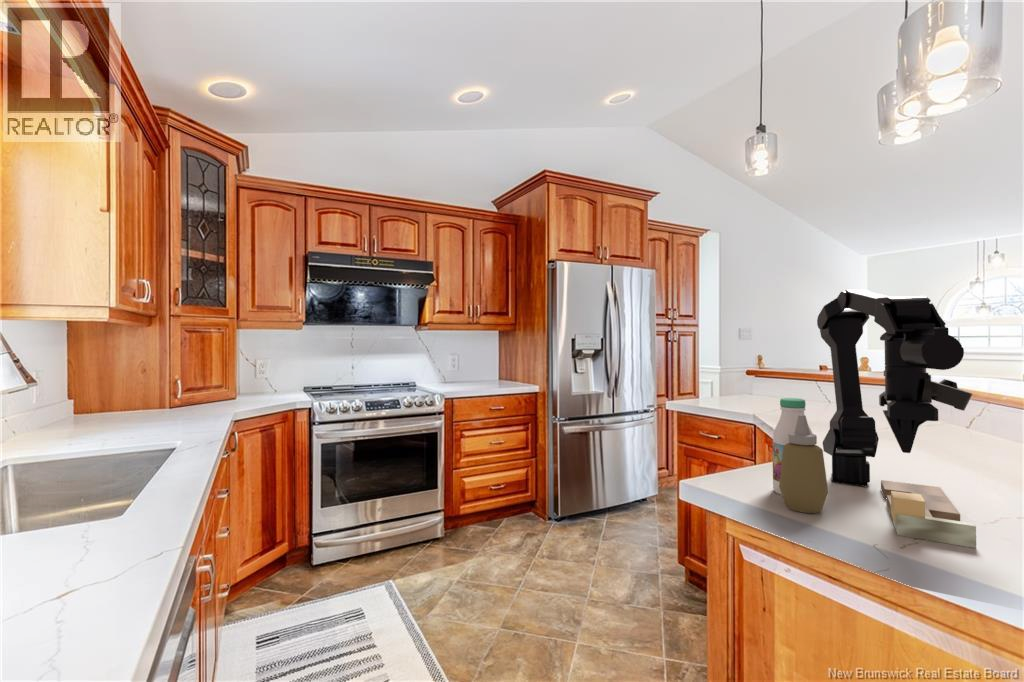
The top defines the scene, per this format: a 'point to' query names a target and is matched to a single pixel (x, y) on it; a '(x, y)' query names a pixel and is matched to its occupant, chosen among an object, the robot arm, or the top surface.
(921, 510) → the block
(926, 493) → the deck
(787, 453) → the squeeze bottle
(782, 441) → the milk bottle
